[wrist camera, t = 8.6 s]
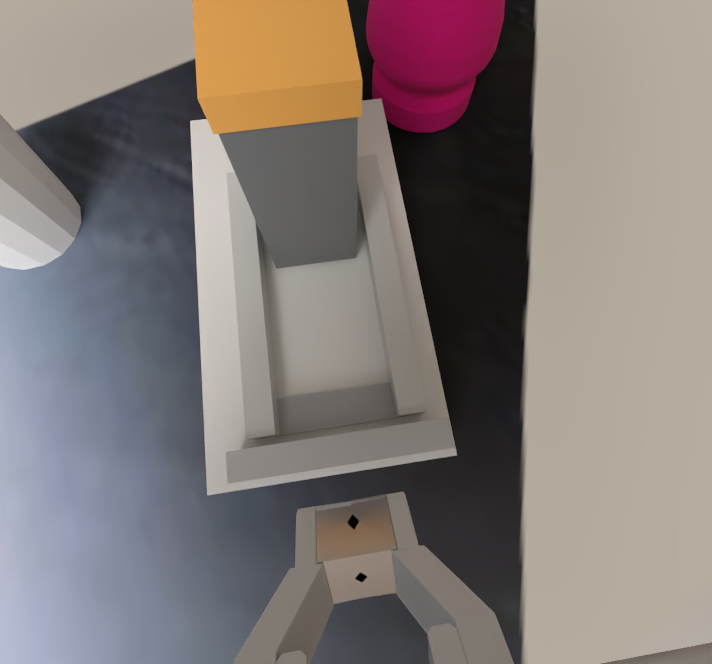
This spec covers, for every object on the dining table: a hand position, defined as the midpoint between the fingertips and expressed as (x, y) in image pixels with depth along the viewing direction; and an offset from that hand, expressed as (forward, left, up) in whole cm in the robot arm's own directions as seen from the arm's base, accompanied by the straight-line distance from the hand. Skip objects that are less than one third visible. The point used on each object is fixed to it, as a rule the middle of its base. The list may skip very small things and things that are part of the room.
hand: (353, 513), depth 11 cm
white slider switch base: (-1, +11, -8) cm, 14 cm away
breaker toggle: (0, +13, -6) cm, 14 cm away
